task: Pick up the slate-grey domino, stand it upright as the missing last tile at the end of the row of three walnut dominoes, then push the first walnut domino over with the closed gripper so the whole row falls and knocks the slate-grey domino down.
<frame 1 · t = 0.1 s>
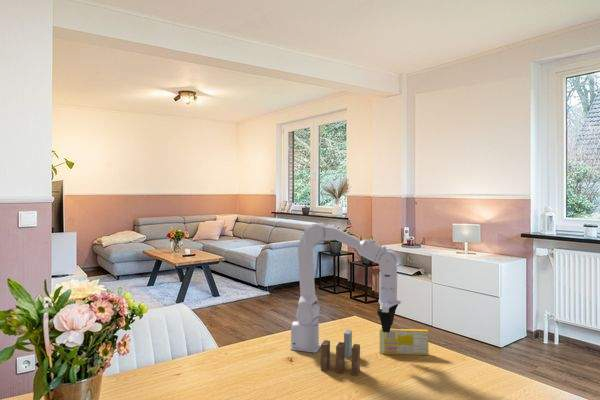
hand: (387, 328, 136), 10 cm above the table, tool pointing down, fingers open, 7 cm apart
candy box: (403, 354, 140), on the table
domino 2: (340, 370, 127), on the table
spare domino: (347, 355, 138), on the table
domino 3: (355, 372, 125), on the table
domino 1: (325, 368, 128), on the table
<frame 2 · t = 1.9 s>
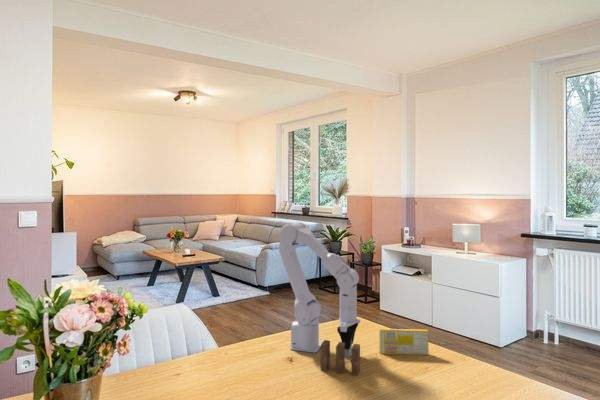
hand: (347, 346, 138), 3 cm above the table, tool pointing down, fingers closed on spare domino, 4 cm apart
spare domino: (347, 355, 138), on the table, touching gripper
everything else where it was.
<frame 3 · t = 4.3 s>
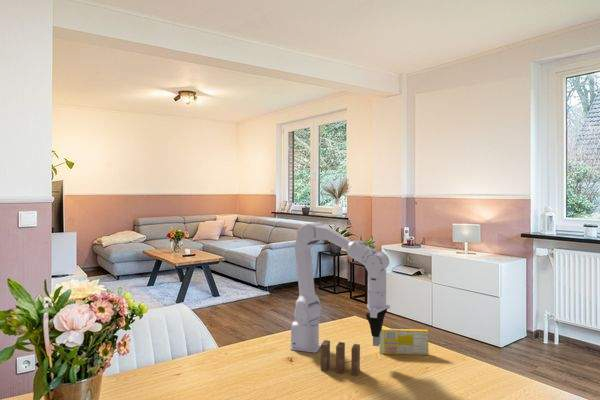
hand: (376, 333, 130), 10 cm above the table, tool pointing down, fingers closed on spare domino, 4 cm apart
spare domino: (376, 343, 130), point 7 cm above the table, touching gripper
everything else where it was.
when the fingers open (4 cm above the table, at t = 6.5 s): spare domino stays where it is, on the table.
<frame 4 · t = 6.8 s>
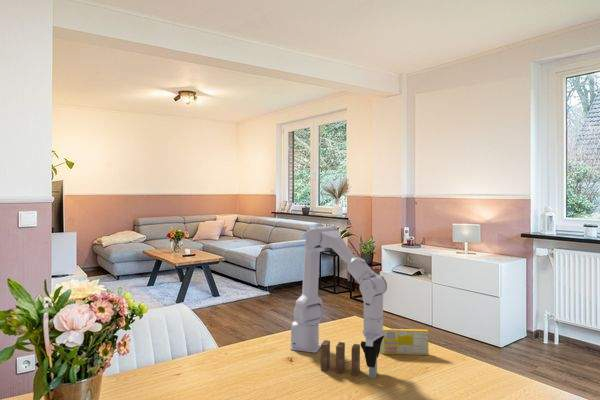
hand: (372, 361, 124), 4 cm above the table, tool pointing down, fingers open, 7 cm apart
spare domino: (372, 375, 124), on the table
everything else where it was.
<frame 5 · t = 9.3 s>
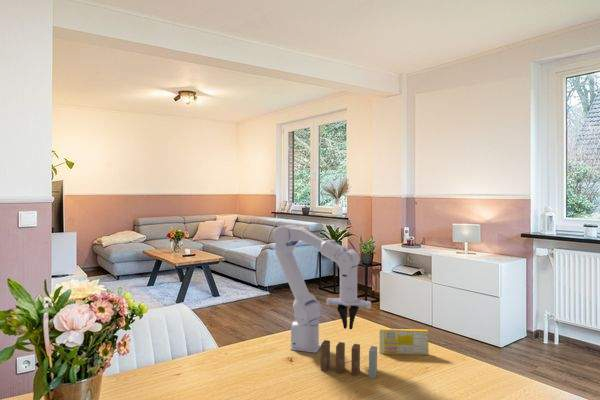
hand: (348, 328, 136), 10 cm above the table, tool pointing down, fingers closed
nothing on the table moved.
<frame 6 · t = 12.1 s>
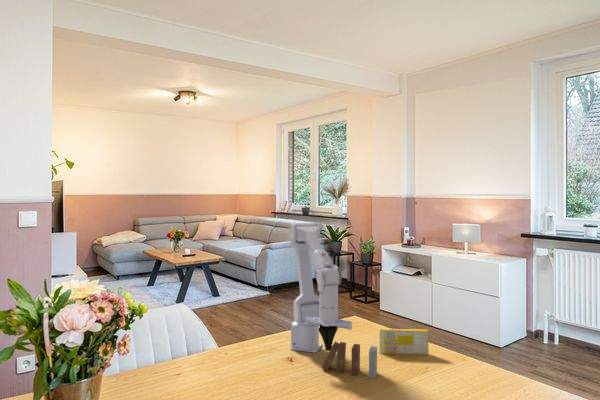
hand: (328, 349, 128), 6 cm above the table, tool pointing down, fingers closed
domino 2: (340, 370, 127), on the table, touching domino 1
domino 1: (325, 366, 128), on the table, tilted 25°, touching domino 2
everything else where it was.
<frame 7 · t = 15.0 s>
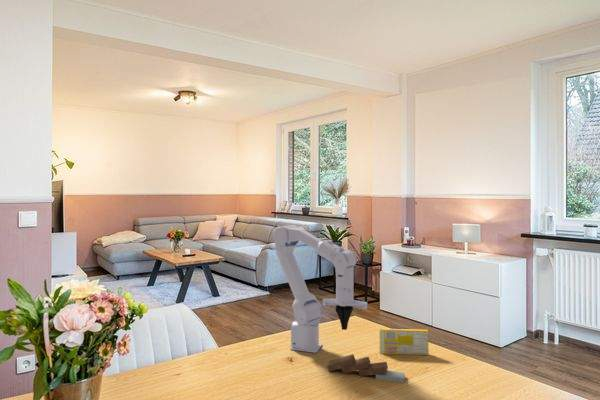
hand: (344, 328, 135), 10 cm above the table, tool pointing down, fingers closed
domino 2: (344, 368, 126), point 1 cm above the table, tilted 69°, touching domino 3
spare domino: (376, 374, 123), on the table, tilted 90°, touching domino 3
domino 3: (360, 370, 125), point 1 cm above the table, tilted 75°, touching domino 2, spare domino
domino 1: (329, 366, 128), point 1 cm above the table, tilted 67°
everything else where it was.
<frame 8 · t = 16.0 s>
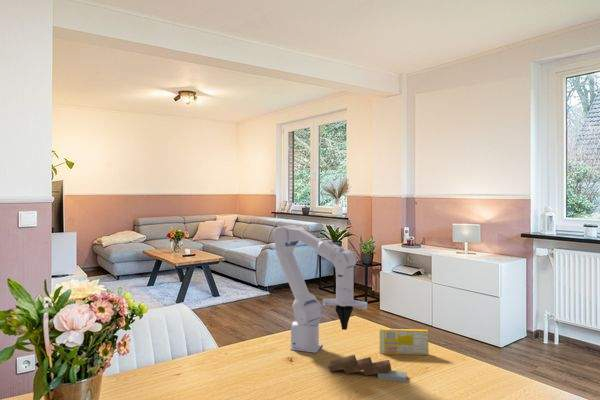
hand: (344, 328, 135), 10 cm above the table, tool pointing down, fingers closed
domino 2: (345, 368, 126), point 1 cm above the table, tilted 70°, touching domino 1, domino 3
domino 3: (364, 370, 125), point 1 cm above the table, tilted 75°, touching domino 2, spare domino
domino 1: (330, 366, 127), point 1 cm above the table, tilted 68°, touching domino 2
everything else where it was.
at the end: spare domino tilted 90°; domino 3 tilted 76°; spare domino inside the target area (1.1 cm from its centre), on the table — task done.
